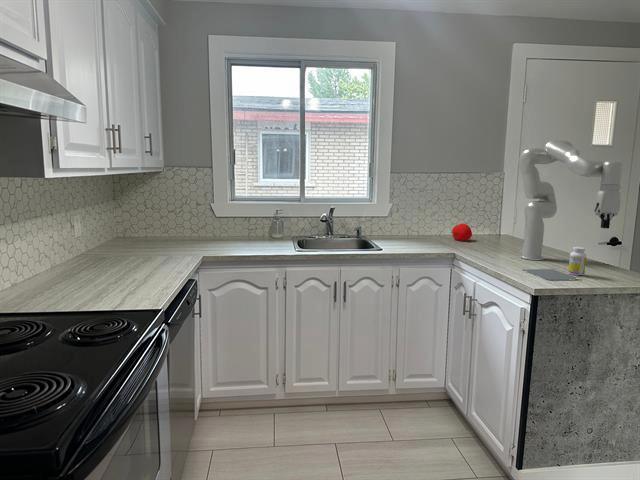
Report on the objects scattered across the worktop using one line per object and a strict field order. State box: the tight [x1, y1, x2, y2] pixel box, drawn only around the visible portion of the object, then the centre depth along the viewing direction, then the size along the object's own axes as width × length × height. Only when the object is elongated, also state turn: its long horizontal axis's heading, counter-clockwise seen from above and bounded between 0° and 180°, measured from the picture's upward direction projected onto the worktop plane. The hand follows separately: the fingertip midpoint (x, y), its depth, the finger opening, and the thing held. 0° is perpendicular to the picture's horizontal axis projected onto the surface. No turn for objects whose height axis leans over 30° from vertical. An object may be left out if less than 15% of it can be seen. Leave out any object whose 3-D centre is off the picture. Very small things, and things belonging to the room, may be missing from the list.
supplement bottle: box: [567, 246, 587, 276], centre depth 206 cm, size 7×7×13 cm
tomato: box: [451, 223, 473, 242], centre depth 299 cm, size 13×13×13 cm
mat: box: [522, 268, 578, 281], centre depth 205 cm, size 20×16×1 cm
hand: (604, 227), depth 205 cm, fingers closed
